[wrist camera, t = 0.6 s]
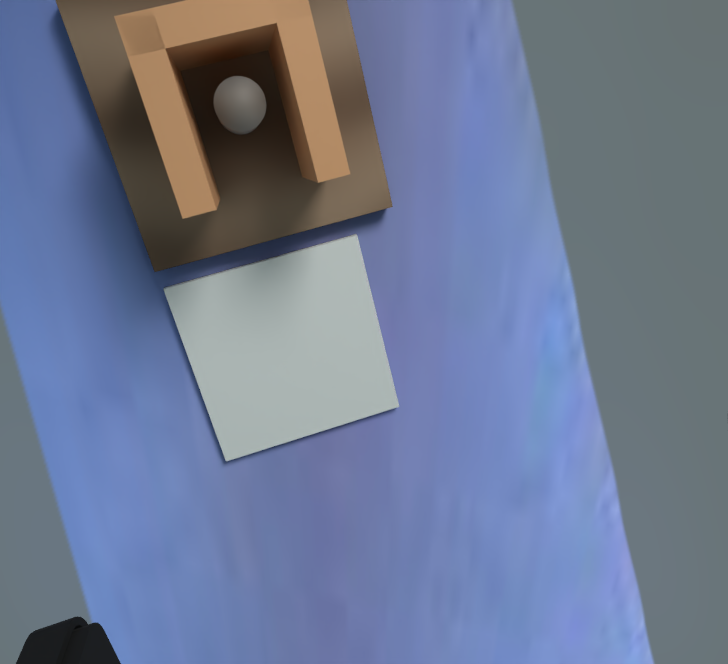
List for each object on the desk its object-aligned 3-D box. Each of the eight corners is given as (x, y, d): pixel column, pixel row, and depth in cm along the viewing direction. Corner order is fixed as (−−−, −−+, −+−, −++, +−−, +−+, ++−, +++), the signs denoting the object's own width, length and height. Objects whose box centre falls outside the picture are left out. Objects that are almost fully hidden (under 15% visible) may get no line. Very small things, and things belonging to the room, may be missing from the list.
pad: (164, 287, 30) (163, 289, 30) (355, 234, 31) (357, 235, 31) (226, 457, 33) (226, 461, 33) (397, 403, 34) (399, 406, 34)
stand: (60, 2, 26) (16, -36, 21) (329, -57, 27) (350, -106, 22) (157, 268, 30) (140, 292, 24) (388, 205, 31) (418, 215, 26)
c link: (140, 46, 26) (113, 16, 20) (288, 12, 27) (302, -26, 21) (193, 205, 28) (182, 218, 23) (328, 170, 29) (350, 174, 23)
